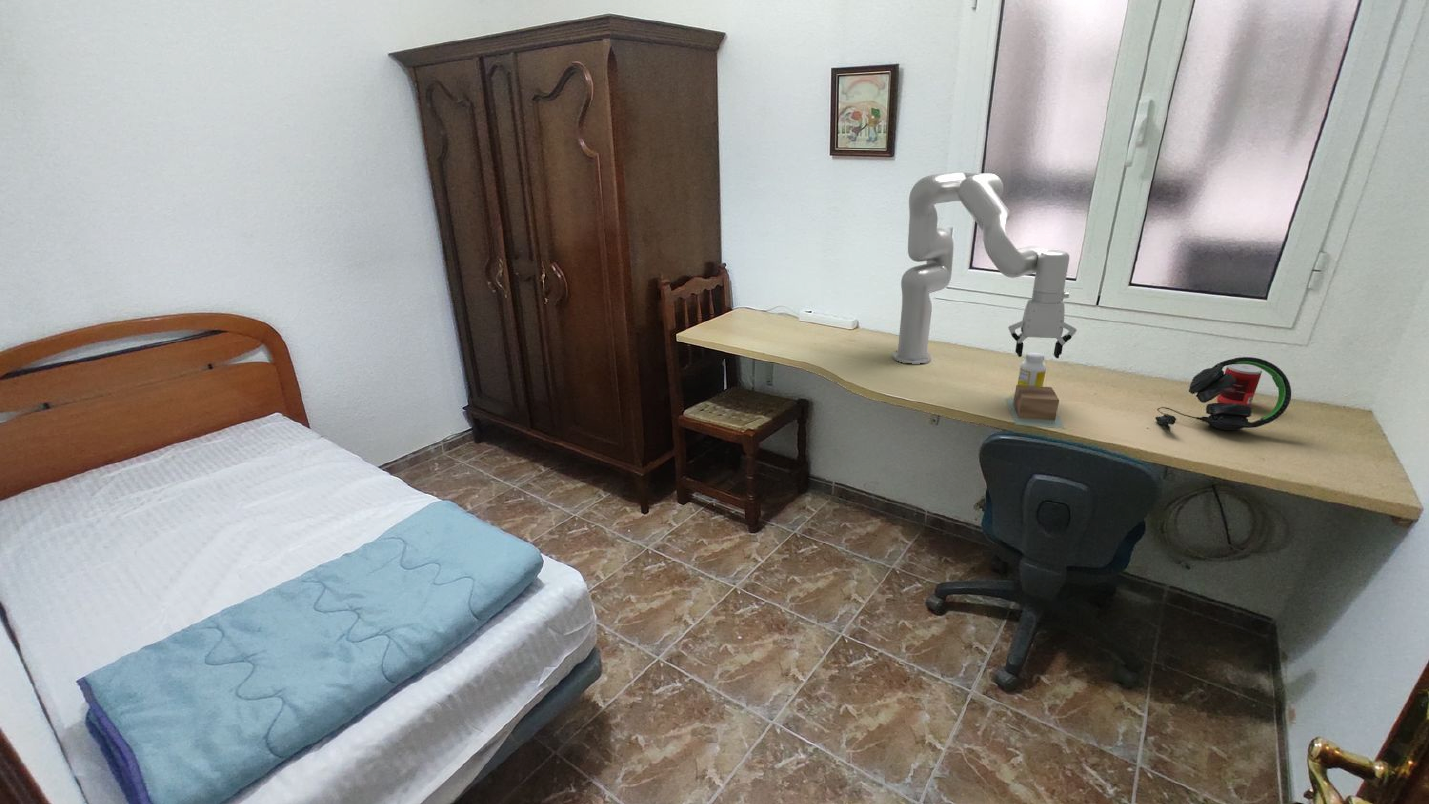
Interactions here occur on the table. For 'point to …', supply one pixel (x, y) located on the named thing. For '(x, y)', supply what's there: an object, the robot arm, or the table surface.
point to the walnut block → (1035, 402)
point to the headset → (1232, 414)
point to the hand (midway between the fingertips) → (1037, 356)
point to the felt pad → (1032, 422)
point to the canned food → (1241, 384)
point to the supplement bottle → (1032, 370)
